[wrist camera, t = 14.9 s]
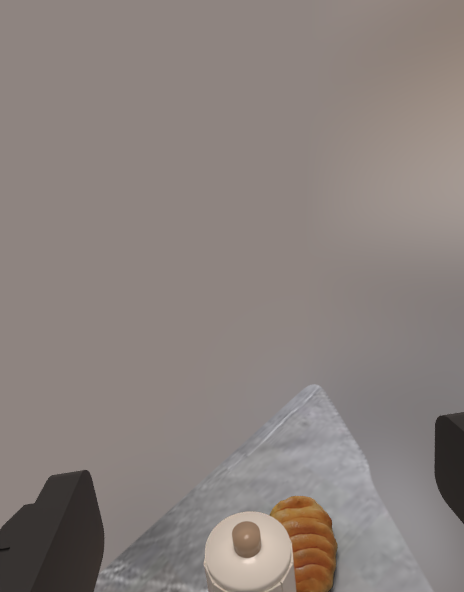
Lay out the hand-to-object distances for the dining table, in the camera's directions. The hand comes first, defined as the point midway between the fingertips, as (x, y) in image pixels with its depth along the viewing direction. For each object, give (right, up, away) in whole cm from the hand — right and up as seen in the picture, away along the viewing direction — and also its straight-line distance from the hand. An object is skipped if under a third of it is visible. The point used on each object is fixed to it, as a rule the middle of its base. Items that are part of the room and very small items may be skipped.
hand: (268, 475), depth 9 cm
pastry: (+6, -21, +29) cm, 37 cm away
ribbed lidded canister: (+2, -24, +19) cm, 31 cm away
